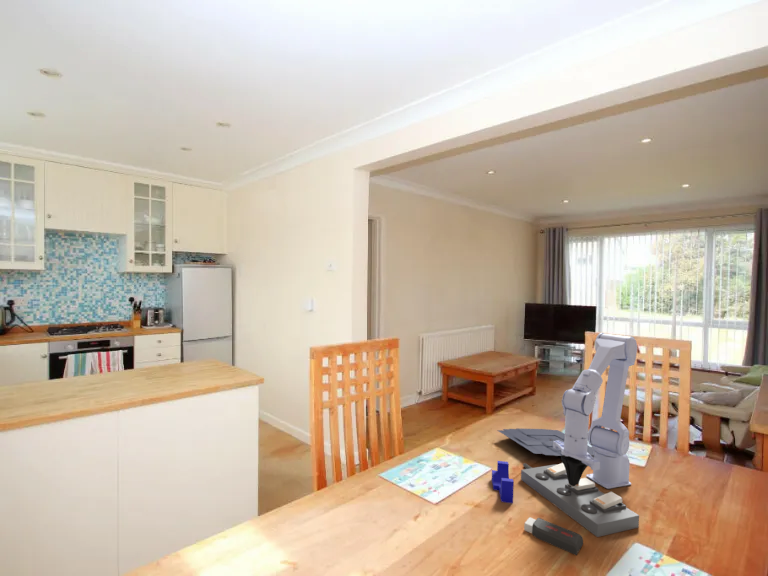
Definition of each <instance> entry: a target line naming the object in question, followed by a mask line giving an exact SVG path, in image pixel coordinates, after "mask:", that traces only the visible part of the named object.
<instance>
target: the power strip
mask: <svg viewBox="0 0 768 576" xmlns="http://www.w3.org/2000/svg"><path fill="white" fill-rule="evenodd" d="M555 465H558V464H556V463H555V464H549V465H543V466H537V467H532V466H530V465H529V464H528V463H526V462H524V463H523V464H522V466H523V468H524V469H521V470H520V480H521V481H523V483H525V484H526V485H527V486H528V487H530V488H531V489H533V490H534V491H536V492H537V493H538V494H539V495H541V496H542V497H543V498H544V499H546V500H547V501H549V502H550V503H551V504H553V505H554V506H555V507H557V508H558V509H559V510H561V511H562V513H565V514H566V515H567V516H568V517H570V518H571V519H573V520H574V521H576V522H577V523H578V524H580V526H582V527H583V528H585V529H586V530H587V531H588V532H590V533H591V534H592V535H593V536H595V537H597V538H599V537H602V536H603V537H604V536H607V535H612V534H617V533H620V532H625V531H629V530H632V529H638V528H639V527H640V526H639V525H640V515H639V514H638V513H636V512H634V511H633V510H631V509H629V508H628V507H627V505H626V504H624V503H623V502H621V503H618V504H616V505H614V506H611V507H609V508H607V509H603V508H601V507H600V506H598V505H597V504H595V503H594V500H593V499H594V498H597V497H599V496H602V495H604V494H605V493H604V492H603V491H600V490H599V487H597V486H595V487H592V488H587V489H582V490H576V489H575V488H573V487H572V486H570V485H569V482H568V477H567V473H564V474H562V475H559V476H555V477H554V476H553V475H551V474H550V473H548V472H547V468H550V467H553V466H555Z"/></svg>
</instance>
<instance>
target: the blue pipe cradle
mask: <svg viewBox="0 0 768 576" xmlns="http://www.w3.org/2000/svg"><path fill="white" fill-rule="evenodd" d="M496 464H497V466H496V467H497V470H491V483H492V488H493V490H494V491H498V493H499V497H500V501H501V503H507V504H514V485H515V484H514V478H510V476H509V474H510V473H509V472H510V471H509V466H510V464H509V461H501V460H497V463H496Z"/></svg>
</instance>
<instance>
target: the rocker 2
mask: <svg viewBox="0 0 768 576" xmlns="http://www.w3.org/2000/svg"><path fill="white" fill-rule="evenodd" d="M593 500H594V503H595V504H597V505H598V506H600V507H601V508H603V509H607V508H609V507H611V506H614V505H616V504H618V503H623V497H621V496H620V495H618V494H616V492H615V493H614V492H613V491H609V492H607V493H604V495H602V496H599V497H597V498H594V499H593Z"/></svg>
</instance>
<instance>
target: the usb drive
mask: <svg viewBox="0 0 768 576" xmlns="http://www.w3.org/2000/svg"><path fill="white" fill-rule="evenodd" d="M523 531H525V532H527V533H530V534H531V535H532V536H533V537H535V538H536V539H537V540H540V541H542V542H545V543H547V544H549V545H552V546H554V547H556V548H557V549H560V550H563V551H566V552H568V553H570V554H573V556H574V555H575V556H578V554H579V552H580V550H581V549H582V546H583V545H584V538H583V536H582V535H581V534H579V533H578V532H575V531H573V530H570V529H568V528H564V527H563V526H560V525H557V524H555V523H554V522H553V523H552V522H550V521H547V520H546V519H544V518H543V519H542V518H540V517H537V518H533V517H528V518H527V519H526V521H524V529H523Z"/></svg>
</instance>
